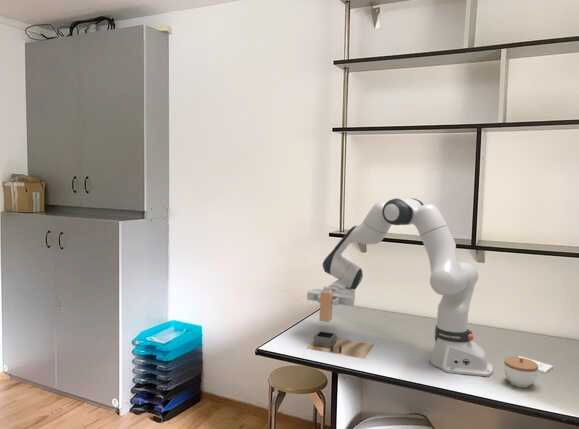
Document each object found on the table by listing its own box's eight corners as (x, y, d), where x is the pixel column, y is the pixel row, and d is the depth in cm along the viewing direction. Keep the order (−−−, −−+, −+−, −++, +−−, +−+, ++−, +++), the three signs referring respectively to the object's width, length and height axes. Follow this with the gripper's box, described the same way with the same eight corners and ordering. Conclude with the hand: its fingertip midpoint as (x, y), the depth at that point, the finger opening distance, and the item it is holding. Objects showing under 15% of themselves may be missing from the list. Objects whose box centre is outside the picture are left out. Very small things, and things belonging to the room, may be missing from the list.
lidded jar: (540, 384, 170) (542, 358, 170) (530, 393, 163) (532, 366, 162) (509, 374, 178) (511, 350, 177) (498, 383, 170) (500, 357, 169)
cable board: (373, 346, 202) (374, 338, 202) (364, 361, 186) (364, 352, 186) (319, 337, 211) (319, 330, 211) (305, 350, 195) (306, 342, 195)
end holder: (336, 342, 203) (336, 333, 202) (331, 348, 196) (331, 339, 195) (319, 339, 205) (319, 330, 205) (313, 345, 198) (313, 336, 198)
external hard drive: (519, 359, 194) (553, 369, 185) (511, 364, 189) (545, 375, 180) (519, 355, 194) (553, 365, 185) (511, 360, 188) (545, 370, 180)
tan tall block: (331, 319, 201) (333, 286, 199) (328, 322, 197) (330, 288, 196) (322, 318, 202) (323, 285, 201) (319, 320, 199) (320, 287, 197)
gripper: (313, 284, 214) (302, 290, 202) (358, 289, 207) (350, 297, 194) (312, 297, 215) (301, 305, 202) (357, 304, 208) (349, 312, 195)
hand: (325, 301), depth 198 cm, fingers closed on tan tall block, 4 cm apart
